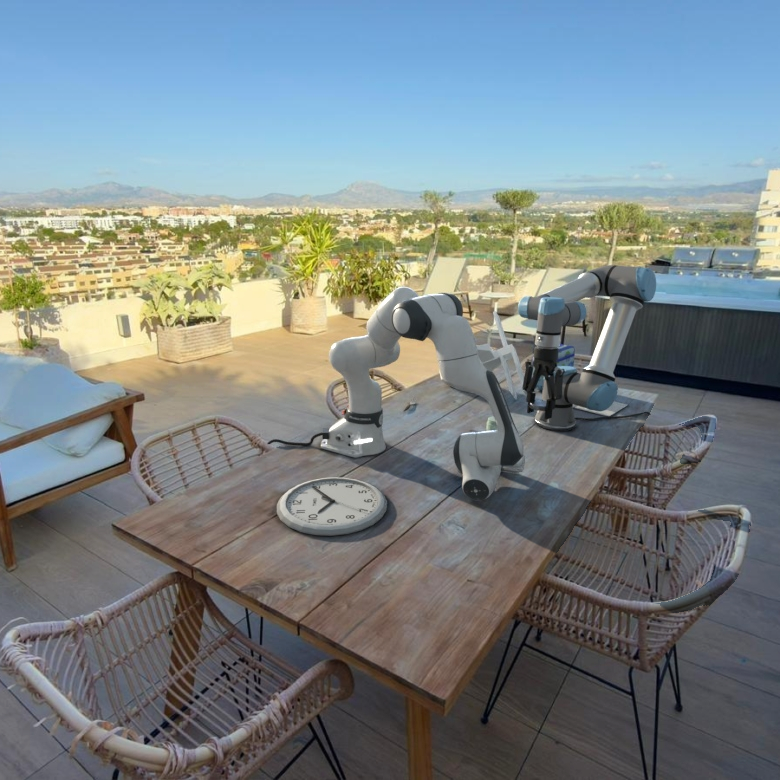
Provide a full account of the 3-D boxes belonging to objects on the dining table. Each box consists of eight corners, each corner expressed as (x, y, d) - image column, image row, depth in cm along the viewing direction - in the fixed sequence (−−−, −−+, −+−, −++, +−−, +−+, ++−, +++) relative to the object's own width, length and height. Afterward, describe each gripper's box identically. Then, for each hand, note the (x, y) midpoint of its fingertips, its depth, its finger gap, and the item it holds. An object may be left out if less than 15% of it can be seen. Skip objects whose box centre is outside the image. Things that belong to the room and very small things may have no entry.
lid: (552, 407, 173) (553, 402, 172) (546, 412, 167) (547, 407, 167) (533, 403, 176) (534, 398, 176) (526, 408, 171) (527, 403, 170)
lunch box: (547, 395, 239) (552, 351, 233) (526, 390, 247) (530, 347, 240) (574, 384, 257) (579, 343, 251) (554, 380, 264) (558, 339, 258)
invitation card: (608, 416, 214) (573, 407, 224) (608, 416, 214) (573, 408, 224) (628, 404, 229) (594, 396, 238) (628, 405, 229) (594, 397, 238)
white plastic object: (461, 429, 252) (437, 405, 227) (444, 352, 274) (420, 323, 250) (535, 404, 240) (518, 377, 215) (510, 326, 262) (492, 293, 237)
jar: (502, 472, 164) (507, 422, 159) (484, 472, 164) (488, 421, 159) (499, 464, 169) (503, 415, 164) (482, 464, 169) (485, 415, 164)
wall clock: (392, 527, 129) (268, 531, 127) (391, 533, 130) (269, 537, 127) (383, 473, 158) (282, 475, 155) (383, 478, 158) (282, 480, 156)
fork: (400, 412, 215) (400, 407, 215) (412, 400, 229) (412, 396, 229) (406, 412, 214) (406, 408, 214) (418, 401, 229) (418, 397, 228)
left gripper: (523, 462, 149) (528, 444, 161) (453, 451, 155) (463, 435, 168) (521, 482, 151) (526, 463, 163) (452, 470, 157) (462, 453, 170)
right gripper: (515, 342, 171) (508, 409, 178) (566, 354, 156) (556, 426, 163) (529, 340, 175) (522, 405, 182) (580, 351, 161) (571, 421, 167)
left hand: (494, 448), depth 165 cm, fingers closed on jar, 5 cm apart
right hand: (539, 415), depth 172 cm, fingers closed on lid, 6 cm apart
